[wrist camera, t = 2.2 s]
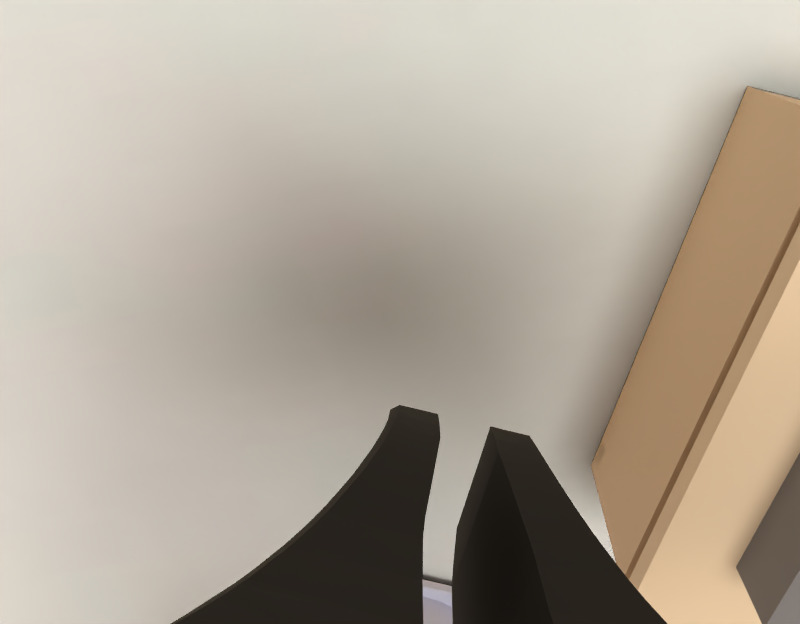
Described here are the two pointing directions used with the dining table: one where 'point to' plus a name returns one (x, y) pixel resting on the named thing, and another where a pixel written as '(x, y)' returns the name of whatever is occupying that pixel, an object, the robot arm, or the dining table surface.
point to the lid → (739, 486)
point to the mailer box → (701, 317)
